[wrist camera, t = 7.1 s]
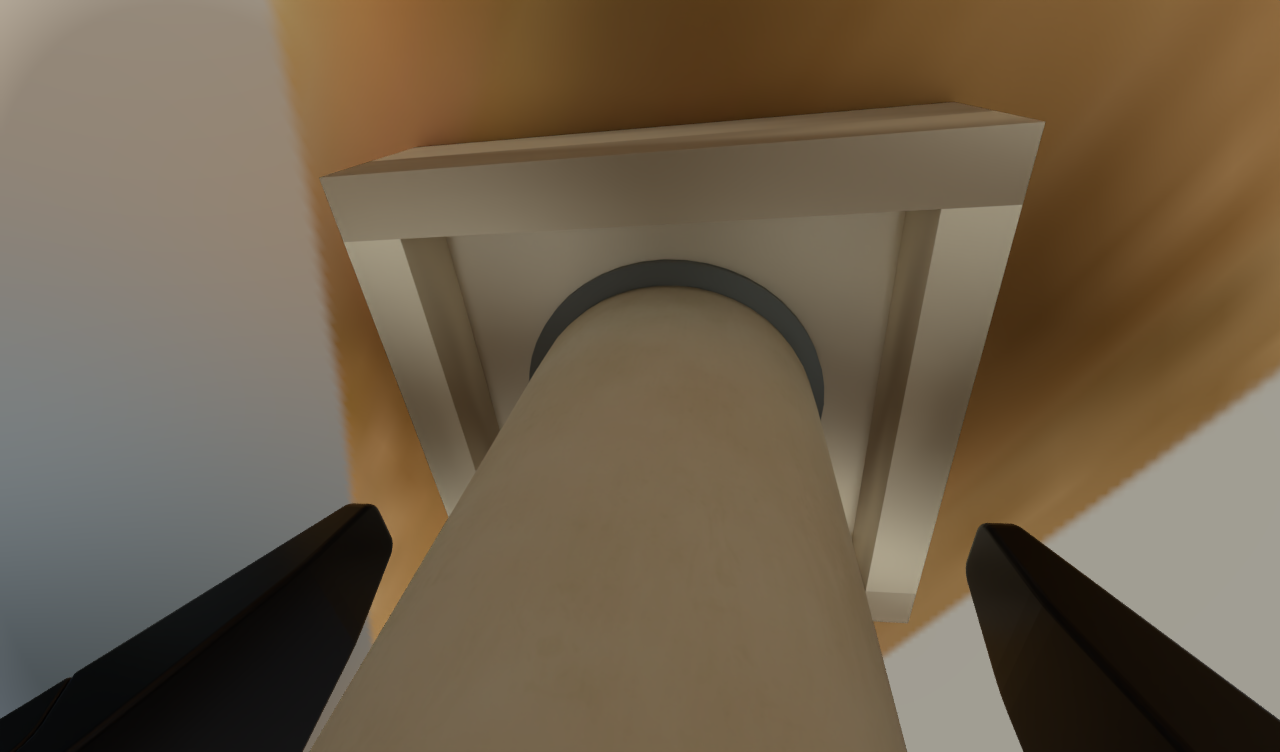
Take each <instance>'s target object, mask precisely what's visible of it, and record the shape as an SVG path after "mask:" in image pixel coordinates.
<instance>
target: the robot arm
mask: <svg viewBox="0 0 1280 752" xmlns="http://www.w3.org/2000/svg"><path fill="white" fill-rule="evenodd" d="M392 545H393V543H392V538H391V535H390V533H389V531H388V529H387V527H386V524H385V522H384V520H383V518H382V516H381V514H380V512H379V510H378V508H377V507H376V506H374V505H372V504H354V503H353V504H348V505H345V506H344V507H342V508H341V509H339V510H337V511H335V512H334V513H332V514H331V515H329V516H327V517H326V518H324V519H323V520H321V521H319V522H318V523H316V524H314V525H313V526H311V527H310V528H308V529H307V530H305V531H303V532H302V533H300V534H298V535H297V536H295V537H294V538H292V539H290V540H289V541H287V542H286V543H284V544H282V545H281V546H279V547H277V548H276V549H274V550H273V551H271V552H269V553H268V554H266V555H264V556H263V557H261V558H260V559H258V560H257V561H255V562H253V563H252V564H250V565H248V566H247V567H245V568H244V569H242V570H240V571H239V572H237V573H235V574H234V575H232V576H231V577H229V578H227V579H226V580H224V581H223V582H222V583H219V584H218V585H216V586H214V587H213V588H211V589H210V590H208V591H206V592H205V593H203V594H202V595H200V596H198V597H197V598H195V599H193V600H192V601H190V602H189V603H187V604H185V605H184V606H182V607H181V608H179V609H177V610H176V611H174V612H173V613H171V614H169V615H168V616H166V617H164V618H163V619H161V620H160V621H158V622H156V623H155V624H153V625H152V626H150V627H148V628H147V629H145V630H144V631H142V632H140V633H139V634H137V635H135V636H134V637H132V638H131V639H129V640H127V641H126V642H124V643H122V644H121V645H119V646H118V647H116V648H114V649H113V650H111V651H110V652H108V653H106V654H105V655H103V656H102V657H100V658H98V659H97V660H95V661H93V662H92V663H90V664H89V665H87V666H85V667H84V668H82V669H81V670H79V671H77V672H76V673H75V674H74V675H73V677H70V678H66V679H64V680H62V681H61V682H60V683H58V684H56V685H55V686H53V687H52V688H50V689H48V690H47V691H45V692H43V693H42V694H40V695H39V696H37V697H35V698H34V699H32V700H31V701H29V702H27V703H26V704H24V705H22V706H21V707H19V708H18V709H16V710H14V711H12V712H11V713H9V714H7V715H6V716H4V717H2V718H1V719H0V752H303V750H304V748H305V746H306V744H307V742H308V740H309V738H310V736H311V734H312V732H313V730H314V728H315V726H316V724H317V722H318V720H319V718H320V716H321V714H322V712H323V710H324V708H325V706H326V704H327V702H328V700H329V698H330V696H331V694H332V692H333V690H334V688H335V686H336V684H337V682H338V680H339V678H340V675H341V674H342V672H343V670H344V668H345V666H346V664H347V662H348V660H349V658H350V655H351V653H352V651H353V649H354V647H355V645H356V642H357V640H358V638H359V635H360V633H361V630H362V628H363V625H364V623H365V620H366V618H367V615H368V613H369V610H370V607H371V605H372V602H373V600H374V597H375V594H376V592H377V589H378V587H379V584H380V582H381V579H382V576H383V574H384V571H385V569H386V566H387V564H388V561H389V558H390V556H391V552H392ZM966 577H967V582H968V585H969V589H970V592H971V596H972V599H973V603H974V606H975V609H976V613H977V616H978V619H979V623H980V627H981V630H982V634H983V637H984V641H985V644H986V648H987V651H988V654H989V658H990V661H991V665H992V668H993V672H994V675H995V678H996V681H997V685H998V687H999V691H1000V694H1001V696H1002V699H1003V702H1004V705H1005V707H1006V710H1007V713H1008V715H1009V717H1010V720H1011V722H1012V725H1013V727H1014V730H1015V732H1016V735H1017V737H1018V740H1019V742H1020V745H1021V747H1022V749H1023V752H1280V720H1279V719H1278V718H1276V717H1275V716H1274V715H1272V714H1271V713H1270V712H1268V711H1267V710H1265V709H1264V708H1263V707H1262V706H1260V705H1259V704H1258V703H1256V702H1255V701H1254V700H1252V699H1251V698H1250V697H1248V696H1247V695H1246V694H1244V693H1243V692H1241V691H1240V690H1239V689H1237V688H1236V687H1235V686H1233V685H1232V684H1230V683H1229V682H1228V681H1226V680H1225V679H1224V678H1223V677H1221V676H1220V675H1219V674H1217V673H1216V672H1214V671H1213V670H1212V669H1211V668H1209V667H1208V666H1207V665H1205V664H1204V663H1202V662H1201V661H1200V660H1198V659H1197V658H1196V657H1194V656H1193V655H1192V654H1190V653H1189V652H1188V651H1186V650H1185V649H1184V648H1182V647H1181V646H1180V645H1178V644H1177V643H1176V642H1174V641H1173V640H1172V639H1170V638H1169V637H1168V636H1166V635H1165V634H1164V633H1162V632H1161V631H1159V630H1158V629H1157V628H1155V627H1154V626H1152V625H1151V624H1150V623H1149V622H1147V621H1146V620H1145V619H1143V618H1142V617H1141V616H1139V615H1138V614H1137V613H1135V612H1134V611H1133V610H1131V609H1130V608H1129V607H1127V606H1126V605H1124V604H1123V603H1122V602H1120V601H1119V600H1118V599H1116V598H1115V597H1114V596H1112V595H1111V594H1110V593H1108V592H1107V591H1106V590H1104V589H1103V588H1102V587H1100V586H1099V585H1098V584H1096V583H1095V582H1094V581H1092V580H1091V579H1090V578H1088V577H1087V576H1086V575H1084V574H1083V573H1081V572H1080V571H1079V570H1077V569H1076V568H1075V567H1073V566H1072V565H1071V564H1069V563H1068V562H1067V561H1065V560H1064V559H1063V558H1061V557H1060V556H1059V555H1057V554H1056V553H1055V552H1053V551H1052V550H1051V549H1049V548H1048V547H1047V546H1045V545H1044V544H1043V543H1041V542H1040V541H1038V540H1037V539H1036V538H1034V537H1033V536H1032V535H1030V534H1029V533H1028V532H1026V531H1025V530H1024V529H1022V528H1021V527H1019V526H1017V525H1014V524H1004V523H984V524H982V525H981V526H980V527H979V528H978V530H977V532H976V535H975V538H974V541H973V544H972V547H971V550H970V553H969V556H968V559H967V563H966Z"/></svg>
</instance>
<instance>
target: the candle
mask: <svg viewBox="0 0 1280 752" xmlns="http://www.w3.org/2000/svg"><path fill="white" fill-rule="evenodd" d="M310 752H907V749H906V745H905V742H904V738H903V734H902V731H901V727H900V723H899V719H898V715H897V712H896V707H895V703H894V700H893V696H892V692H891V688H890V684H889V681H888V677H887V673H886V669H885V665H884V661H883V658H882V654H881V650H880V646H879V642H878V638H877V635H876V631H875V627H874V623H873V619H872V615H871V612H870V608H869V604H868V600H867V596H866V593H865V589H864V585H863V581H862V577H861V573H860V570H859V566H858V562H857V558H856V554H855V550H854V547H853V543H852V539H851V535H850V531H849V527H848V524H847V520H846V516H845V512H844V508H843V505H842V501H841V497H840V493H839V489H838V485H837V482H836V478H835V474H834V470H833V466H832V462H831V459H830V455H829V451H828V447H827V443H826V440H825V436H824V432H823V428H822V424H821V420H820V417H819V413H818V409H817V405H816V402H815V399H814V395H813V392H812V389H811V386H810V382H809V380H808V377H807V375H806V372H805V370H804V367H803V365H802V364H801V362H800V360H799V358H798V357H797V355H796V353H795V352H794V350H793V349H792V347H791V346H790V344H789V343H788V342H787V340H786V339H785V338H784V337H783V335H782V334H781V333H780V332H779V331H778V330H777V329H776V328H775V327H774V326H773V325H772V324H771V323H770V322H769V321H768V320H766V319H765V318H764V317H762V316H761V315H760V314H758V313H757V312H755V311H754V310H752V309H751V308H749V307H747V306H746V305H744V304H742V303H740V302H738V301H736V300H734V299H732V298H729V297H726V296H724V295H721V294H718V293H716V292H712V291H707V290H703V289H699V288H694V287H684V286H652V287H645V288H638V289H634V290H630V291H627V292H623V293H619V294H617V295H615V296H612V297H610V298H608V299H605V300H603V301H601V302H599V303H598V304H596V305H594V306H593V307H591V308H589V309H588V310H587V311H585V312H584V313H583V314H582V315H580V316H579V317H578V318H577V319H575V320H574V321H573V322H572V323H571V324H570V325H569V326H568V327H567V328H566V329H565V330H564V331H563V332H562V333H561V334H560V335H559V336H558V338H557V339H556V341H555V342H554V344H553V345H552V347H551V348H550V350H549V351H548V353H547V354H546V356H545V357H544V359H543V360H542V362H541V364H540V365H539V367H538V368H537V370H536V371H535V373H534V375H533V376H532V378H531V380H530V381H529V383H528V385H527V386H526V388H525V390H524V391H523V393H522V395H521V397H520V398H519V400H518V402H517V403H516V405H515V407H514V408H513V410H512V412H511V413H510V415H509V417H508V418H507V420H506V422H505V423H504V425H503V427H502V428H501V430H500V432H499V434H498V435H497V437H496V439H495V440H494V442H493V444H492V445H491V447H490V449H489V450H488V452H487V454H486V455H485V457H484V459H483V460H482V462H481V464H480V466H479V467H478V469H477V471H476V472H475V474H474V476H473V477H472V479H471V481H470V482H469V484H468V486H467V487H466V489H465V491H464V492H463V494H462V496H461V497H460V499H459V501H458V503H457V504H456V506H455V508H454V509H453V511H452V513H451V514H450V516H449V518H448V519H447V521H446V523H445V524H444V526H443V528H442V529H441V531H440V533H439V535H438V536H437V538H436V540H435V541H434V543H433V545H432V546H431V548H430V550H429V551H428V553H427V555H426V556H425V558H424V560H423V561H422V563H421V565H420V566H419V568H418V570H417V572H416V573H415V575H414V577H413V578H412V580H411V582H410V583H409V585H408V587H407V588H406V590H405V592H404V593H403V595H402V597H401V598H400V600H399V602H398V604H397V605H396V607H395V609H394V610H393V612H392V614H391V615H390V617H389V619H388V620H387V622H386V624H385V625H384V627H383V629H382V630H381V632H380V634H379V635H378V637H377V639H376V641H375V642H374V644H373V646H372V647H371V649H370V651H369V652H368V654H367V656H366V658H365V659H364V661H363V662H362V664H361V666H360V668H359V669H358V671H357V673H356V674H355V676H354V678H353V679H352V681H351V683H350V684H349V686H348V688H347V689H346V691H345V693H344V694H343V696H342V698H341V699H340V701H339V703H338V704H337V706H336V708H335V710H334V711H333V713H332V715H331V716H330V718H329V720H328V721H327V723H326V725H325V726H324V728H323V730H322V731H321V733H320V735H319V737H318V738H317V740H316V742H315V743H314V745H313V747H312V748H311V750H310Z"/></svg>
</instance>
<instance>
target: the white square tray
mask: <svg viewBox="0 0 1280 752" xmlns="http://www.w3.org/2000/svg"><path fill="white" fill-rule="evenodd" d="M1044 125H1045V121H1040V120H1035V119H1031V118H1026V117H1021V116H1017V115H1012V114H1008V113H1003V112H998V111H994V110H989V109H985V108H980V107H975V106H971V105H966V104H961V103H957V102H948V103H936V104H924V105H912V106H900V107H889V108H877V109H865V110H853V111H841V112H829V113H817V114H806V115H794V116H782V117H770V118H758V119H746V120H734V121H723V122H711V123H699V124H687V125H675V126H663V127H651V128H640V129H628V130H616V131H604V132H592V133H580V134H569V135H557V136H545V137H533V138H521V139H509V140H497V141H486V142H474V143H462V144H450V145H438V146H426V147H415V148H412V149H409V150H405V151H402V152H399V153H396V154H393V155H389V156H386V157H383V158H380V159H377V160H374V161H370V162H367V163H364V164H361V165H358V166H354V167H351V168H348V169H345V170H342V171H339V172H335V173H332V174H329V175H326V176H323V177H319V179H320V181H321V184H322V187H323V189H324V192H325V195H326V197H327V200H328V202H329V205H330V208H331V210H332V213H333V215H334V218H335V221H336V223H337V226H338V229H339V231H340V234H341V236H342V239H343V242H344V244H345V247H346V250H347V252H348V255H349V257H350V260H351V263H352V265H353V268H354V271H355V273H356V276H357V278H358V281H359V284H360V286H361V289H362V291H363V294H364V297H365V299H366V302H367V305H368V307H369V310H370V312H371V315H372V318H373V320H374V323H375V326H376V328H377V331H378V333H379V336H380V339H381V341H382V344H383V346H384V349H385V352H386V354H387V357H388V360H389V362H390V365H391V367H392V370H393V373H394V375H395V378H396V381H397V383H398V386H399V388H400V391H401V394H402V396H403V399H404V401H405V404H406V407H407V409H408V412H409V415H410V417H411V420H412V422H413V425H414V428H415V430H416V433H417V436H418V438H419V441H420V443H421V446H422V449H423V451H424V454H425V457H426V459H427V462H428V464H429V467H430V470H431V472H432V475H433V477H434V480H435V483H436V485H437V488H438V491H439V493H440V496H441V498H442V501H443V504H444V506H445V509H446V512H447V514H448V517H449V516H450V514H451V513H452V511H453V509H454V508H455V506H456V504H457V503H458V501H459V499H460V497H461V496H462V494H463V492H464V491H465V489H466V487H467V486H468V484H469V482H470V481H471V479H472V477H473V476H474V474H475V472H476V471H477V469H478V467H479V466H480V464H481V462H482V460H483V459H484V457H485V455H486V454H487V452H488V450H489V449H490V447H491V445H492V444H493V442H494V440H495V439H496V437H497V435H498V434H499V432H500V430H501V428H502V427H503V425H504V423H505V422H506V420H507V418H508V417H509V415H510V413H511V412H512V410H513V408H514V407H515V405H516V403H517V402H518V400H519V398H520V397H521V395H522V393H523V391H524V390H525V388H526V386H527V385H528V383H529V381H530V380H531V378H532V376H533V375H534V373H535V371H536V370H537V368H538V367H539V365H540V364H541V362H542V360H543V359H544V357H545V356H546V354H547V353H548V351H549V350H550V348H551V347H552V345H553V344H554V342H555V341H556V339H557V338H558V336H559V335H560V334H561V333H562V332H563V331H564V330H565V329H566V328H567V327H568V326H569V325H570V324H571V323H572V322H573V321H574V320H575V319H577V318H578V317H579V316H580V315H582V314H583V313H584V312H585V311H587V310H588V309H589V308H591V307H593V306H594V305H596V304H598V303H599V302H601V301H603V300H605V299H608V298H610V297H612V296H615V295H617V294H619V293H623V292H627V291H630V290H634V289H638V288H645V287H652V286H684V287H694V288H699V289H703V290H707V291H712V292H716V293H718V294H721V295H724V296H726V297H729V298H732V299H734V300H736V301H738V302H740V303H742V304H744V305H746V306H747V307H749V308H751V309H752V310H754V311H755V312H757V313H758V314H760V315H761V316H762V317H764V318H765V319H766V320H768V321H769V322H770V323H771V324H772V325H773V326H774V327H775V328H776V329H777V330H778V331H779V332H780V333H781V334H782V335H783V337H784V338H785V339H786V340H787V342H788V343H789V344H790V346H791V347H792V349H793V350H794V352H795V353H796V355H797V357H798V358H799V360H800V362H801V364H802V365H803V367H804V370H805V372H806V375H807V377H808V380H809V382H810V386H811V389H812V392H813V395H814V399H815V402H816V405H817V409H818V413H819V417H820V420H821V424H822V428H823V432H824V436H825V440H826V443H827V447H828V451H829V455H830V459H831V462H832V466H833V470H834V474H835V478H836V482H837V485H838V489H839V493H840V497H841V501H842V505H843V508H844V512H845V516H846V520H847V524H848V527H849V531H850V535H851V539H852V543H853V547H854V550H855V554H856V558H857V562H858V566H859V570H860V573H861V577H862V581H863V585H864V589H865V593H866V596H867V600H868V604H869V608H870V612H871V615H872V619H873V621H879V622H896V623H908V621H909V618H910V614H911V610H912V607H913V603H914V599H915V596H916V592H917V588H918V585H919V581H920V577H921V574H922V570H923V567H924V563H925V559H926V556H927V552H928V548H929V545H930V541H931V537H932V534H933V530H934V526H935V523H936V519H937V515H938V512H939V508H940V504H941V501H942V497H943V494H944V490H945V486H946V483H947V479H948V475H949V472H950V468H951V464H952V461H953V457H954V453H955V450H956V446H957V442H958V439H959V435H960V431H961V428H962V424H963V421H964V417H965V413H966V410H967V406H968V402H969V399H970V395H971V391H972V388H973V384H974V380H975V377H976V373H977V369H978V366H979V362H980V359H981V355H982V351H983V348H984V344H985V340H986V337H987V333H988V329H989V326H990V322H991V318H992V315H993V311H994V307H995V304H996V300H997V296H998V293H999V289H1000V286H1001V282H1002V278H1003V275H1004V271H1005V267H1006V264H1007V260H1008V256H1009V253H1010V249H1011V245H1012V242H1013V238H1014V234H1015V231H1016V227H1017V223H1018V220H1019V216H1020V213H1021V209H1022V205H1023V202H1024V198H1025V194H1026V191H1027V187H1028V183H1029V180H1030V176H1031V172H1032V169H1033V165H1034V161H1035V158H1036V154H1037V150H1038V147H1039V143H1040V140H1041V136H1042V132H1043V129H1044Z"/></svg>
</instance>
